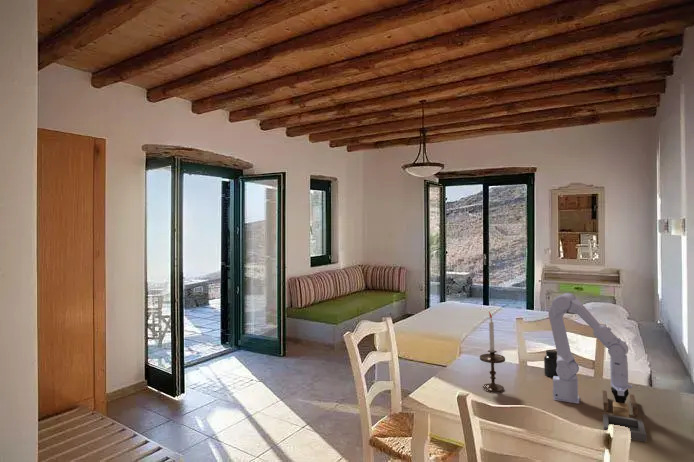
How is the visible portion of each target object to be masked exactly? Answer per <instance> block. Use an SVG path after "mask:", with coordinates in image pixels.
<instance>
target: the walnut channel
mask: <svg viewBox="0 0 694 462" xmlns="http://www.w3.org/2000/svg"><path fill="white" fill-rule="evenodd" d="M629 403H630V407H631V408H630V409H631V413H632V416H637V417H638V416H639V415H638V414H639V407H638V404H637V401H636V397H635V394H631V393H629ZM602 405H603V411H607V412H609V399H608V390H602Z"/></svg>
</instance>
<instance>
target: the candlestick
mask: <svg viewBox="0 0 694 462" xmlns="http://www.w3.org/2000/svg"><path fill="white" fill-rule="evenodd" d="M488 314H489V317H490V320H489V322H488V328H489V329H488V331H489V332H488V333H489V350H487V352H488V353H484V354H483V353H482V354H480V355H479V360H480V361H482V362H483V363H489V364H490V371H489V375H490V376H489V378H490V379H491V383H490V382H489V383H485V384H483V385H484V386H485V385H486V386H487V385H489V387H488V388H487V387H486V386H485V387H484V386H483V385H482V389H483V388H484V389H486V390H488V391H490V392H489V393H491V392H500V393H502V392H501V391H503V390H505V387H504V386H503V385H501V384H497V383H495V382H496V381H495V380H496V379H497V378H496V377H495V376H496V375H497V371H495V364H500V363H501V364H502V363H504V362H506V357H505V356H504V355H501V354H497V353H498V352H497V350H495V329H494V327H495V325H494V321H493V319H492V318H493V316H492V314H491V312H490V311H489V313H488ZM484 389H483V390H484ZM503 392H504V391H503Z"/></svg>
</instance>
